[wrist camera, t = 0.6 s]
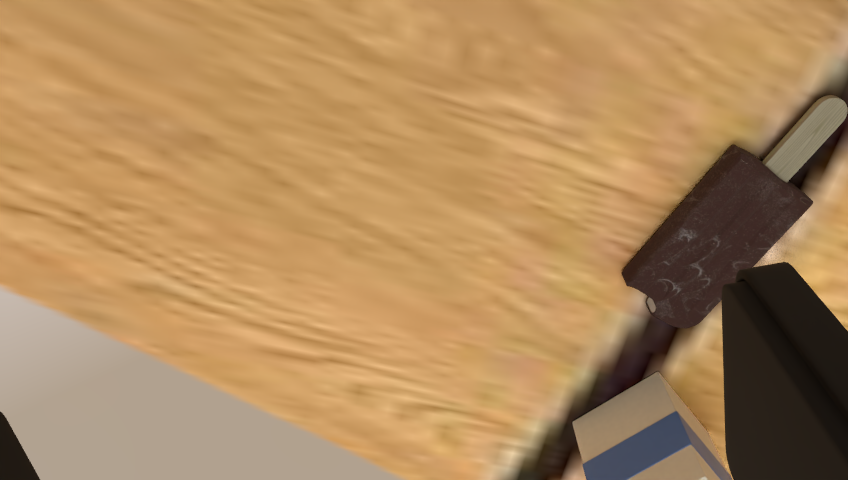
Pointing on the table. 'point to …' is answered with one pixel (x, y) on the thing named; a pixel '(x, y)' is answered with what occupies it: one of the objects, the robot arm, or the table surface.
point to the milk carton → (647, 438)
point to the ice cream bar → (728, 222)
